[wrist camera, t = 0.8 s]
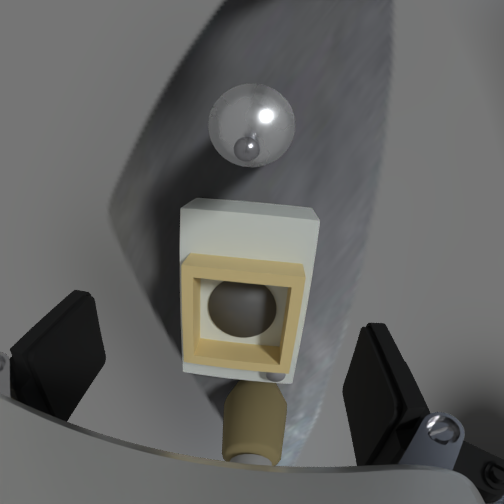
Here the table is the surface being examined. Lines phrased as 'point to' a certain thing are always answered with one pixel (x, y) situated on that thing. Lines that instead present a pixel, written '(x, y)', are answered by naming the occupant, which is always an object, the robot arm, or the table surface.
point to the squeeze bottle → (254, 423)
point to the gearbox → (244, 287)
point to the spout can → (251, 125)
